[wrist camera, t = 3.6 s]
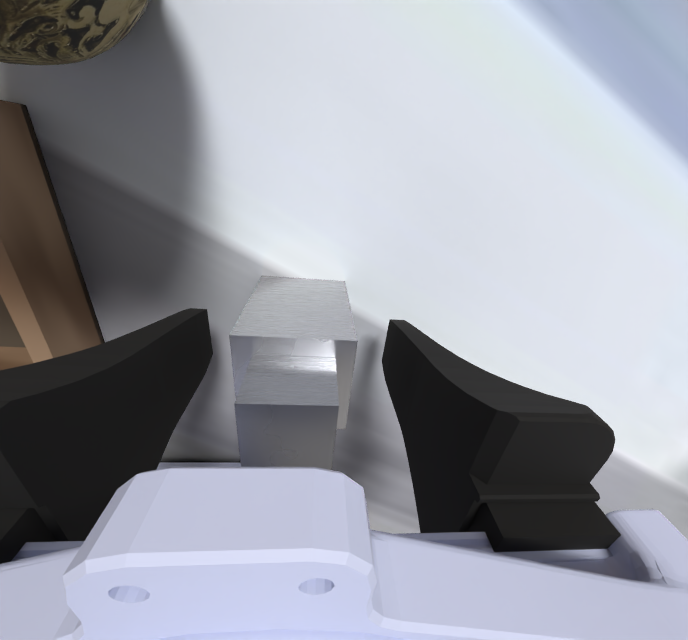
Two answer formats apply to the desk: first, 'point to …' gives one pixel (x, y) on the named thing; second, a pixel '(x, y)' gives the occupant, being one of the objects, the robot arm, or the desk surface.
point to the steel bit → (292, 371)
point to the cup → (63, 29)
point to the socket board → (36, 256)
